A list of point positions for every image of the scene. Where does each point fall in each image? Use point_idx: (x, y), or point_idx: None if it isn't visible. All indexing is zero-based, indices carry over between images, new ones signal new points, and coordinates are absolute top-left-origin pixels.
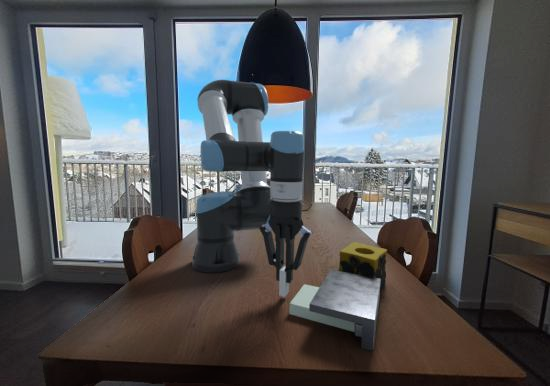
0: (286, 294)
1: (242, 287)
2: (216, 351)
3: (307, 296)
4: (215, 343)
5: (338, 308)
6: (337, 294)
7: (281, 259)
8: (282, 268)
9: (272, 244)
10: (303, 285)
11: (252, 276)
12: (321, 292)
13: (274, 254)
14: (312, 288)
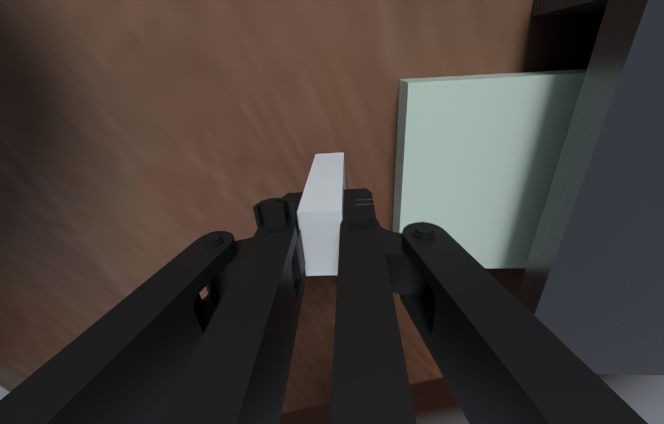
0: (345, 182)
1: (133, 169)
2: (304, 390)
3: (454, 198)
4: (287, 379)
5: (632, 363)
6: (650, 283)
7: (294, 305)
8: (309, 249)
9: (117, 400)
10: (407, 100)
11: (66, 40)
12: (564, 294)
13: (195, 285)
14: (465, 111)
